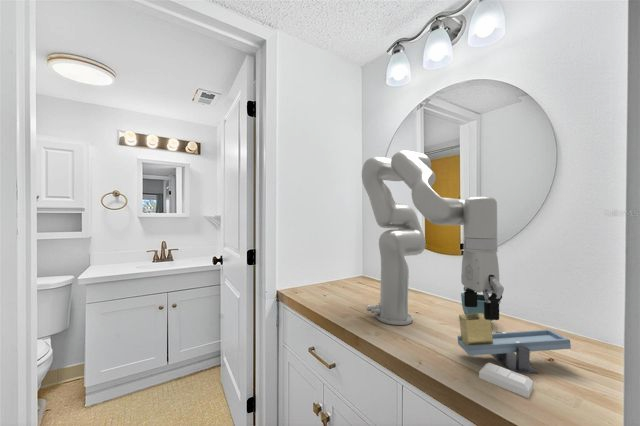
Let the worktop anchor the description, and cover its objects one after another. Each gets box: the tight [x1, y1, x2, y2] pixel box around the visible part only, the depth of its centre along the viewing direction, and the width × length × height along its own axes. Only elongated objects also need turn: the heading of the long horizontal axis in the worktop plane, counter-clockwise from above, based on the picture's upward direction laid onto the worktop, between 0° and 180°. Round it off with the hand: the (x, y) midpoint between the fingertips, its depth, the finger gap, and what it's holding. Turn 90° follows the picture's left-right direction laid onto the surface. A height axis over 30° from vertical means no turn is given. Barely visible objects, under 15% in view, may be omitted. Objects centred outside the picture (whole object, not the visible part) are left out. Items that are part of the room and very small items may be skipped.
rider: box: [458, 313, 493, 346], centre depth 69 cm, size 6×4×7 cm, turn 87°
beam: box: [457, 328, 572, 357], centre depth 69 cm, size 24×7×2 cm, turn 87°
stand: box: [491, 331, 539, 375], centre depth 69 cm, size 6×10×6 cm, turn 177°
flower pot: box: [460, 292, 493, 322], centre depth 95 cm, size 9×9×9 cm
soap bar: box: [478, 362, 534, 399], centre depth 60 cm, size 5×9×3 cm, turn 43°
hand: (480, 312), depth 69 cm, fingers open, 9 cm apart
